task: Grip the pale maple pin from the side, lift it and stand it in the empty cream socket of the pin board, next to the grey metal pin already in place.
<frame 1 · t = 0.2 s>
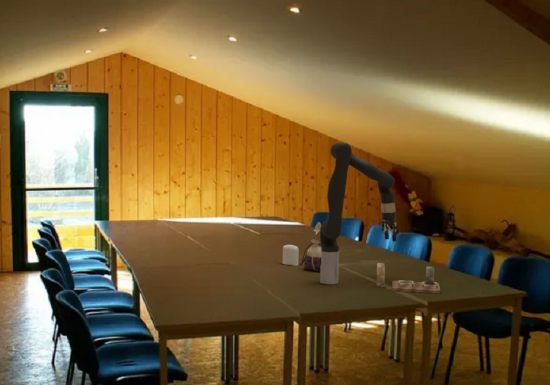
hand: (390, 240, 339), 22 cm above the table, tool pointing down, fingers open, 8 cm apart
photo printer: (290, 265, 381), on the table
pin board: (415, 288, 320), on the table
maple pin: (380, 286, 324), on the table
pouch: (315, 271, 362), on the table
flower vase: (325, 262, 391), on the table
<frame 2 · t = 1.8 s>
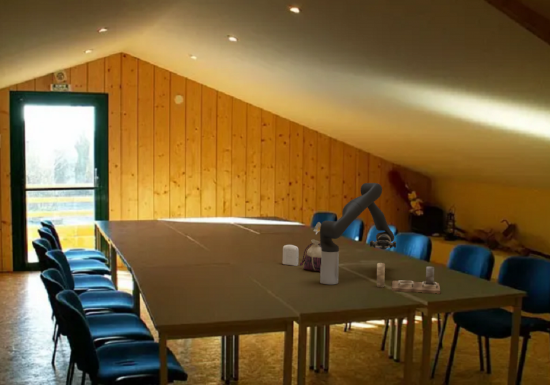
hand: (382, 246, 334), 19 cm above the table, tool horizontal, fingers open, 8 cm apart
nothing on the table moved.
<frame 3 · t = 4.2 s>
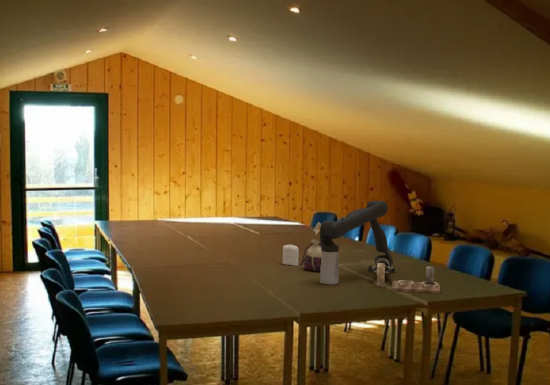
hand: (381, 271, 329), 7 cm above the table, tool horizontal, fingers open, 8 cm apart
nothing on the table moved.
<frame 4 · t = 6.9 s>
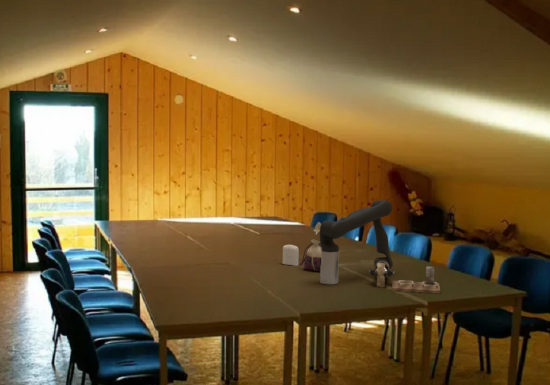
hand: (380, 274, 321), 7 cm above the table, tool horizontal, fingers closed on maple pin, 4 cm apart
maple pin: (380, 286, 324), on the table, touching gripper
everything else where it was.
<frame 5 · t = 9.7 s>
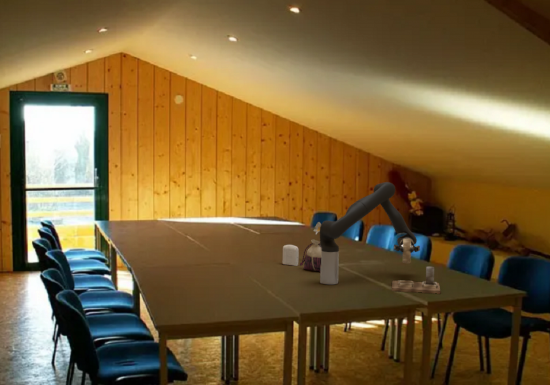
hand: (406, 250, 317), 20 cm above the table, tool horizontal, fingers closed on maple pin, 4 cm apart
maple pin: (406, 262, 320), point 13 cm above the table, touching gripper
everything else where it was.
when the fingers open (9 cm above the table, at t = 12.5 s): maple pin stays where it is, resting on pin board.
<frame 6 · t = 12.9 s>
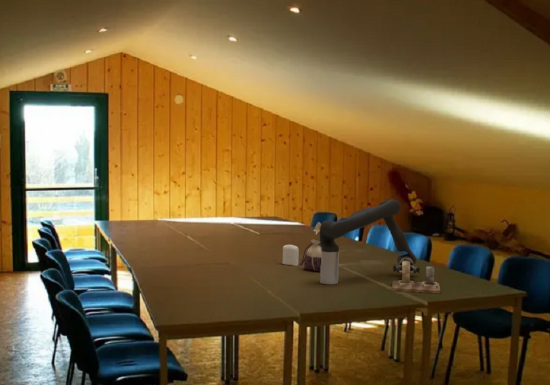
hand: (406, 271, 318), 9 cm above the table, tool horizontal, fingers open, 7 cm apart
maple pin: (405, 284, 321), point 2 cm above the table, touching pin board
everything else where it was.
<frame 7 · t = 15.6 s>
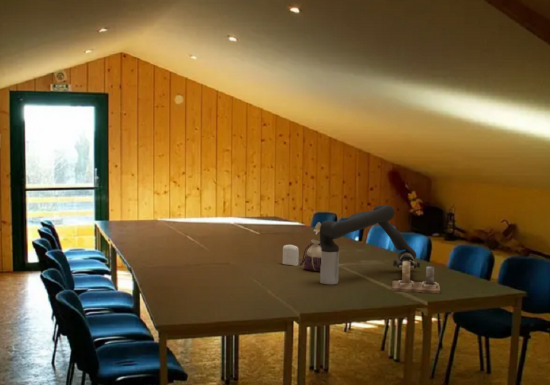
hand: (406, 266, 332), 9 cm above the table, tool horizontal, fingers open, 8 cm apart
nothing on the table moved.
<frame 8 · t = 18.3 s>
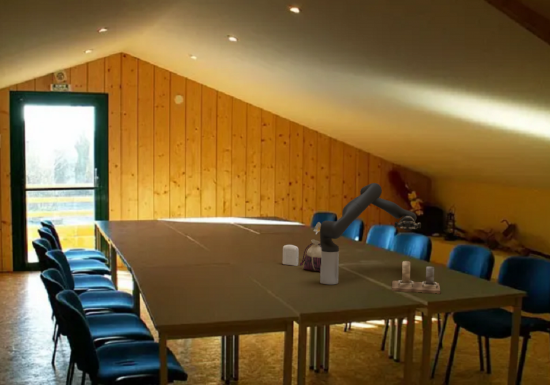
hand: (407, 226, 335), 30 cm above the table, tool horizontal, fingers open, 8 cm apart
nothing on the table moved.
at the end: maple pin 0.1 cm from the target spot on the pin board, point 1.6 cm above the pin board's base; maple pin tilted 0°; the gripper is holding nothing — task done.
